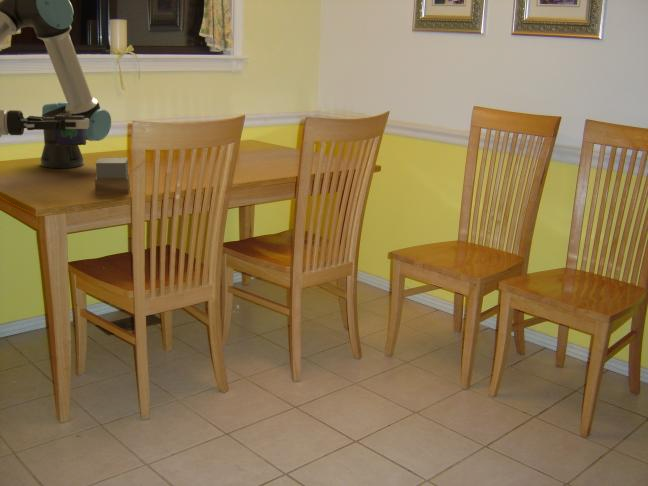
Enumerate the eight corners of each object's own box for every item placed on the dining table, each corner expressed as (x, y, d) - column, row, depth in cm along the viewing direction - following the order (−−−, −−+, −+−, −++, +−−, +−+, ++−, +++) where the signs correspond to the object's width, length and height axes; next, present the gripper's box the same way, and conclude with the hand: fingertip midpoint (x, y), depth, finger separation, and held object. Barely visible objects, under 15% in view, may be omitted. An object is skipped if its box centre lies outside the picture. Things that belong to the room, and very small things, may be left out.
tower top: (99, 173, 248) (99, 158, 247) (128, 173, 250) (127, 158, 248) (96, 178, 240) (95, 163, 238) (126, 178, 241) (125, 163, 240)
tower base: (98, 187, 250) (97, 173, 248) (129, 187, 252) (129, 172, 250) (95, 194, 240) (94, 179, 239) (128, 194, 242) (127, 178, 241)
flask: (87, 144, 238) (85, 109, 235) (85, 145, 235) (82, 110, 232) (56, 143, 237) (54, 109, 234) (54, 145, 235) (51, 110, 232)
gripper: (15, 131, 240) (92, 131, 244) (3, 139, 225) (85, 139, 229) (13, 107, 238) (90, 108, 242) (1, 113, 223) (83, 114, 227)
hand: (88, 123), depth 236 cm, fingers closed on flask, 3 cm apart
